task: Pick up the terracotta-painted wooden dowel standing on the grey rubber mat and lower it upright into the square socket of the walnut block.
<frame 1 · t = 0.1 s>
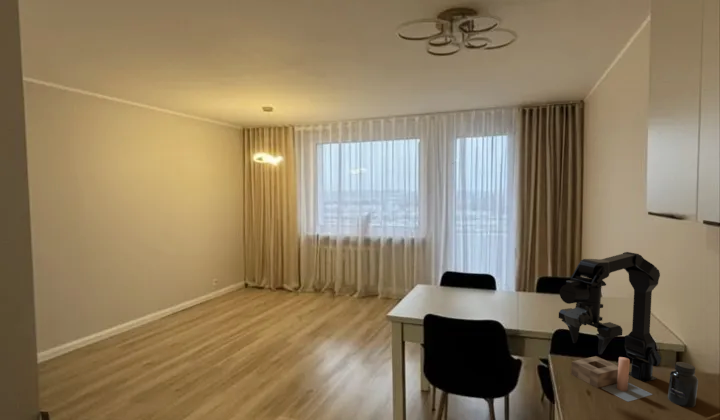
hand: (587, 348, 133), 15 cm above the table, tool pointing down, fingers open, 9 cm apart
dowel: (622, 388, 136), resting on mat
supplement bottle: (681, 403, 129), on the table
mat: (626, 392, 135), on the table
socket block: (596, 378, 144), on the table
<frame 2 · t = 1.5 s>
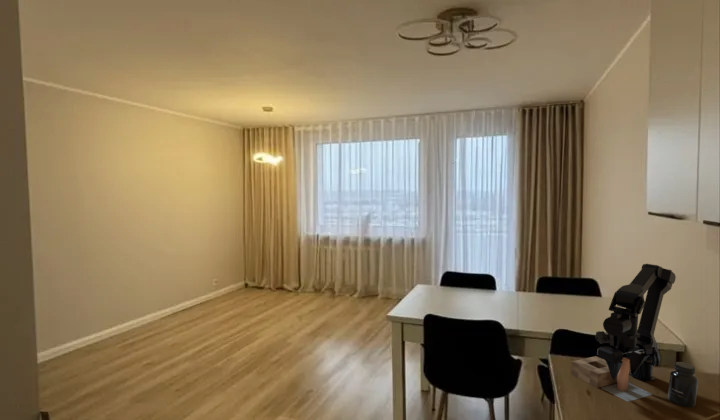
hand: (623, 375, 136), 5 cm above the table, tool pointing down, fingers open, 9 cm apart
nothing on the table moved.
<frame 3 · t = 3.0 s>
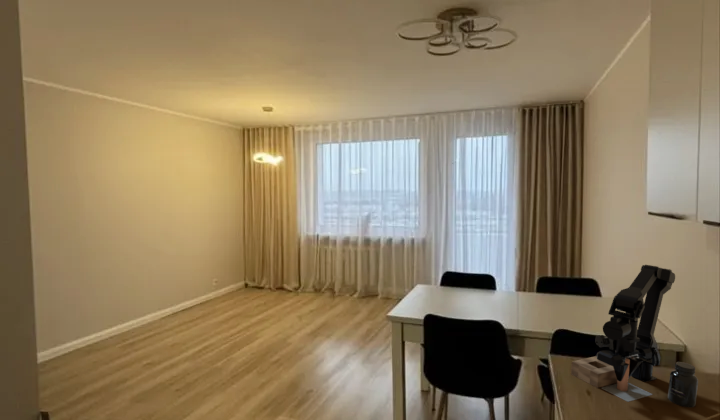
hand: (622, 379, 136), 3 cm above the table, tool pointing down, fingers closed on dowel, 3 cm apart
dowel: (622, 388, 136), resting on mat, touching gripper
everything else where it was.
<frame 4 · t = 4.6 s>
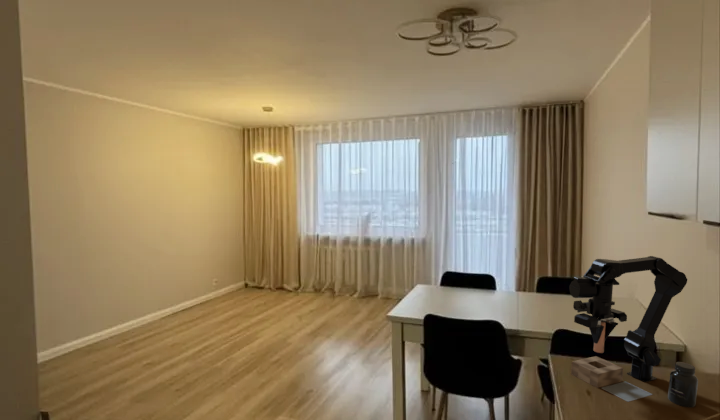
hand: (599, 342, 143), 13 cm above the table, tool pointing down, fingers closed on dowel, 3 cm apart
dowel: (598, 351, 143), point 10 cm above the table, touching gripper
everything else where it was.
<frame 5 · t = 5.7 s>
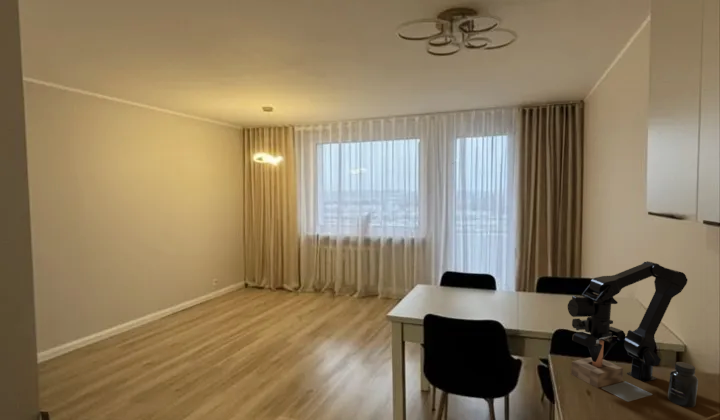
hand: (597, 360, 143), 6 cm above the table, tool pointing down, fingers closed on dowel, 3 cm apart
dowel: (597, 369, 143), point 3 cm above the table, touching gripper
everything else where it was.
when the fingers open (6 cm above the table, at t = 6.4 s): dowel drops 3 cm, resting in socket block.
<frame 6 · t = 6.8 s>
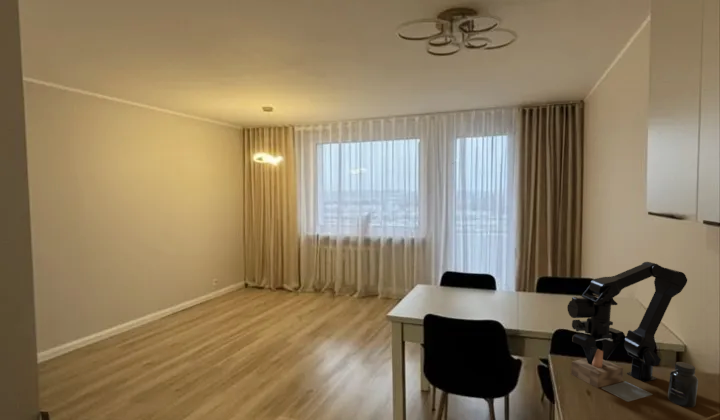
hand: (597, 361, 143), 6 cm above the table, tool pointing down, fingers open, 7 cm apart
dowel: (596, 378, 144), resting in socket block
everything else where it was.
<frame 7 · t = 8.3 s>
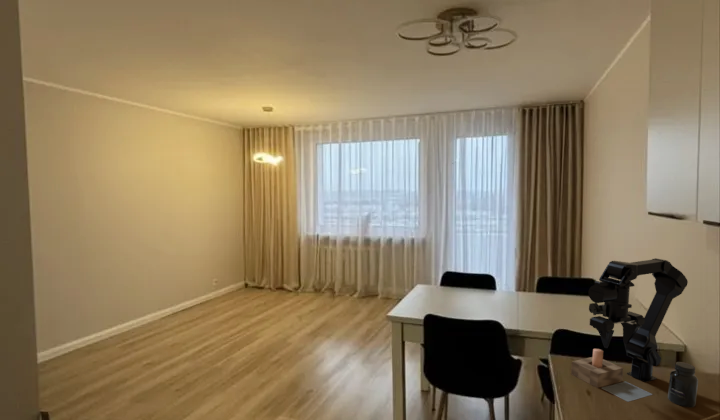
hand: (615, 345, 140), 13 cm above the table, tool pointing down, fingers open, 9 cm apart
nothing on the table moved.
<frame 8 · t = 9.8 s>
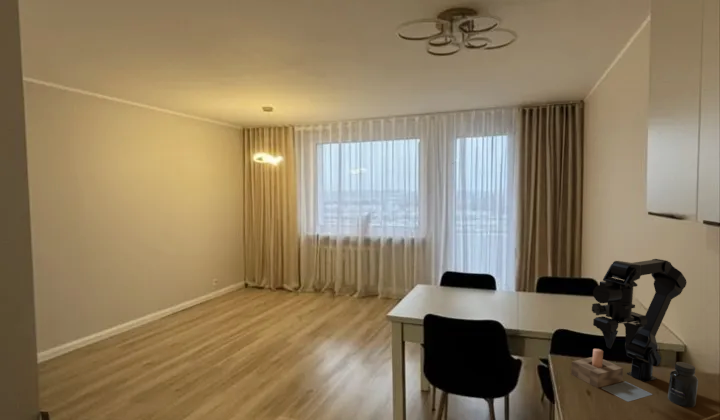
hand: (618, 346, 139), 13 cm above the table, tool pointing down, fingers open, 9 cm apart
nothing on the table moved.
at the end: dowel 0.0 cm off-centre on the socket block, point 0.0 cm above the socket block's base; dowel tilted 0°; the gripper is holding nothing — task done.
